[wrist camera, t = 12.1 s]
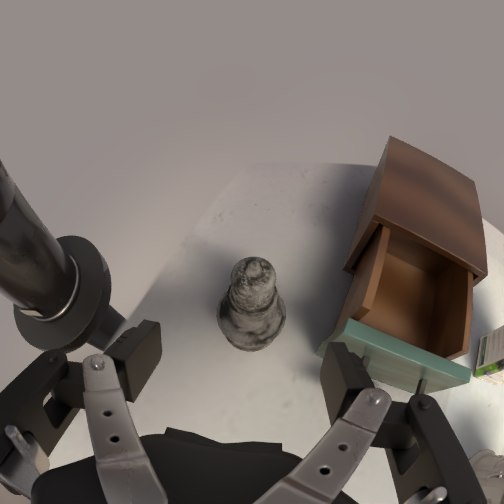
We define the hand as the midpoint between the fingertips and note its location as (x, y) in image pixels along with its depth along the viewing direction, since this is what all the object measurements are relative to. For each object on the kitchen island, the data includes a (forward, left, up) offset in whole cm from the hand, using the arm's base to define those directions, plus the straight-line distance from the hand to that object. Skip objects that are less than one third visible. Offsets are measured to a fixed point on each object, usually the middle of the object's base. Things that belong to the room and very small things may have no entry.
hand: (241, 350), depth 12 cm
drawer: (+11, +10, -12) cm, 19 cm away
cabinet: (+11, +23, -13) cm, 29 cm away
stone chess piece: (-2, +5, -13) cm, 14 cm away
